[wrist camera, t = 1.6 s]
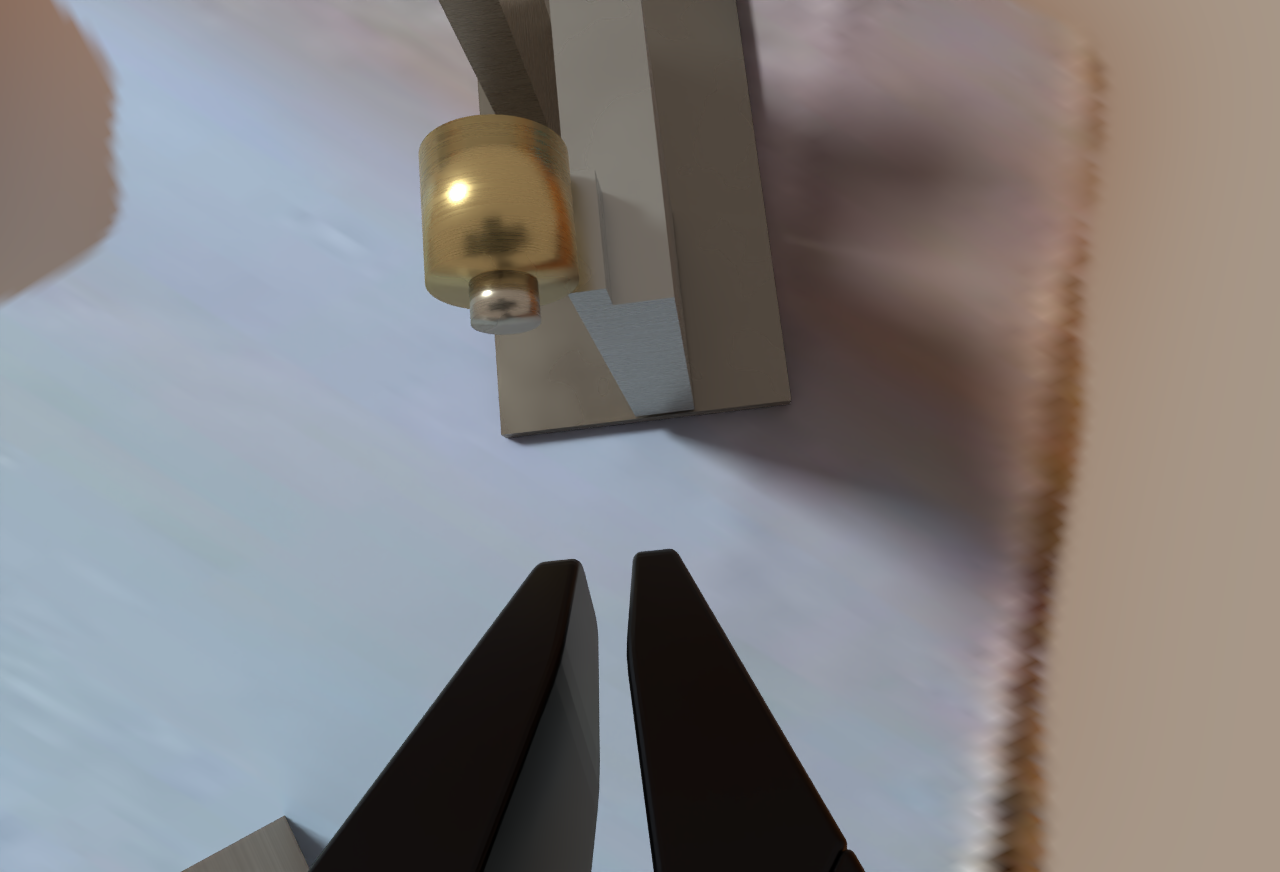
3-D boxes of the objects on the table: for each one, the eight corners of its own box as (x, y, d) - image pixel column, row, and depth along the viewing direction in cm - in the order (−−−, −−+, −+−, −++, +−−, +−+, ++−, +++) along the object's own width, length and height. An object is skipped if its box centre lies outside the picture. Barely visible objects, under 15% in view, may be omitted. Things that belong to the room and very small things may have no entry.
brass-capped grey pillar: (697, 431, 21) (666, 271, 10) (568, 446, 21) (401, 306, 10) (671, 202, 22) (617, -162, 11) (549, 220, 22) (383, -119, 12)
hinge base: (789, 404, 22) (867, 199, 10) (506, 438, 22) (264, 283, 11) (731, -22, 24) (736, -589, 12) (478, 20, 25) (256, -479, 13)
